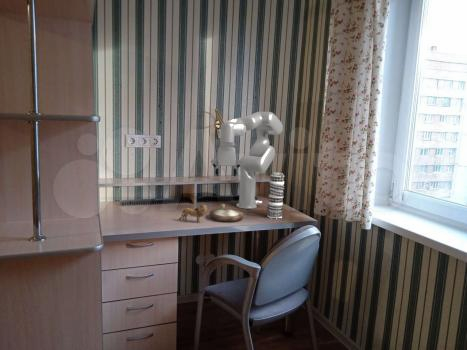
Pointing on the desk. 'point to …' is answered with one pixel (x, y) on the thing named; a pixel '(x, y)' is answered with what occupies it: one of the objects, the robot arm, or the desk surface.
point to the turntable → (226, 214)
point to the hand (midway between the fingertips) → (225, 175)
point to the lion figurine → (194, 212)
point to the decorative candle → (275, 195)
